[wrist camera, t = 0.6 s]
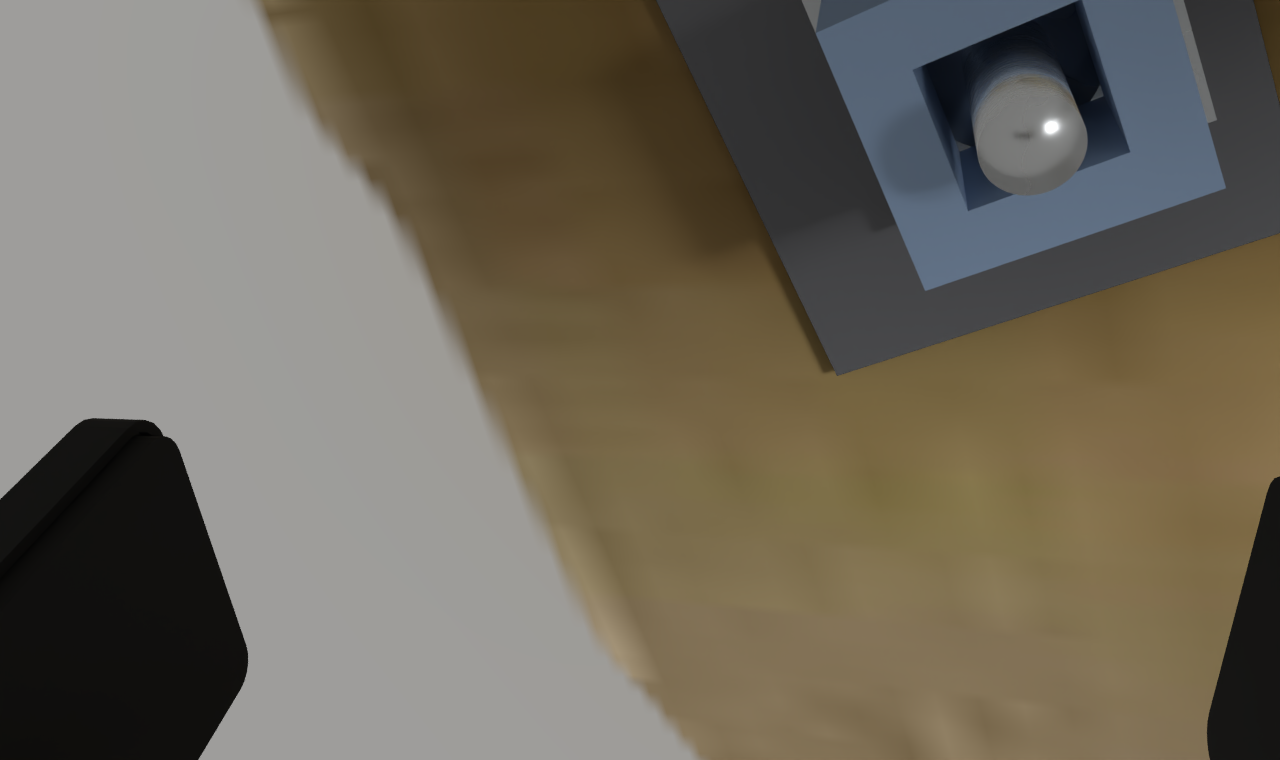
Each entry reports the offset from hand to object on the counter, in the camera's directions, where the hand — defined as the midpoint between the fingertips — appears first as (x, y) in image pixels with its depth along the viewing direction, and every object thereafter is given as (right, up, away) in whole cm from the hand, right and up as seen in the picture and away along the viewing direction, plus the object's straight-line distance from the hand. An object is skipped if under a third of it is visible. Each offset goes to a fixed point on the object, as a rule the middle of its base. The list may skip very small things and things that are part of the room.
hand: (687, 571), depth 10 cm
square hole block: (+8, +9, +16) cm, 20 cm away
